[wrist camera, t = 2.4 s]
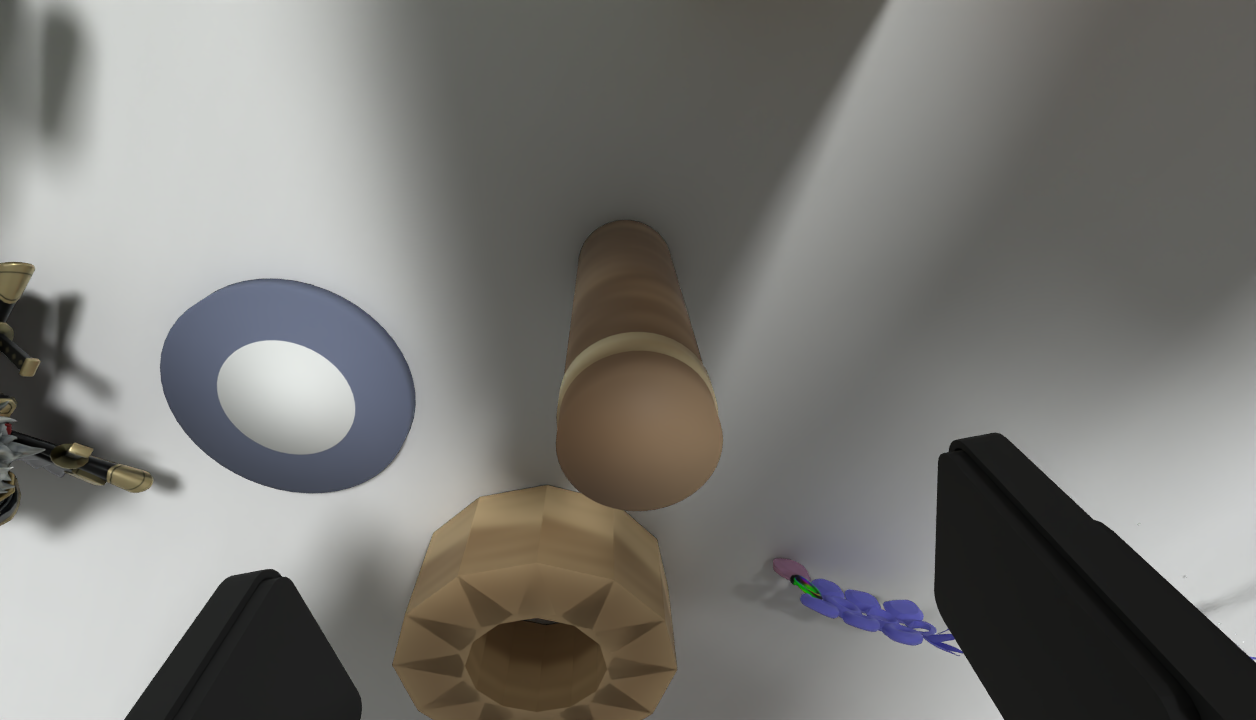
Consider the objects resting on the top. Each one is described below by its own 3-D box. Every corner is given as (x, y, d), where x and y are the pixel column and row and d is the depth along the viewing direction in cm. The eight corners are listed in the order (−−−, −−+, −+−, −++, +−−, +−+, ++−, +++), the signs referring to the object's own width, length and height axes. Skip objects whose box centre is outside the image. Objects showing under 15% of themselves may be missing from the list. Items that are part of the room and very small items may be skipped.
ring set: (751, 621, 31) (765, 835, 20) (784, 394, 29) (821, 487, 18) (1322, 721, 28) (1737, 1048, 16) (1408, 471, 25) (1954, 649, 14)
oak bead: (640, 468, 24) (646, 543, 20) (681, 642, 28) (691, 729, 25) (389, 513, 24) (351, 594, 21) (468, 676, 29) (449, 766, 25)
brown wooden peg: (664, 209, 19) (713, 354, 10) (680, 300, 21) (735, 497, 12) (566, 229, 20) (533, 389, 11) (588, 318, 21) (575, 525, 12)
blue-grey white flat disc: (363, 256, 20) (353, 265, 19) (446, 458, 23) (440, 473, 23) (127, 304, 20) (107, 316, 19) (244, 495, 24) (231, 511, 23)
